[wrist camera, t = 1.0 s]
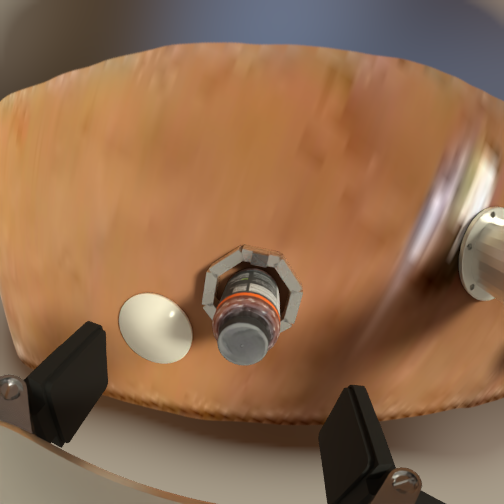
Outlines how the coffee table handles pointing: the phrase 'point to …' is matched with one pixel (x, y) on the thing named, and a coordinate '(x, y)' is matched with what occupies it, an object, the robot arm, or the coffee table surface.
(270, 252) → the ring holder
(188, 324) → the coaster
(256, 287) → the supplement bottle
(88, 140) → the coffee table surface
